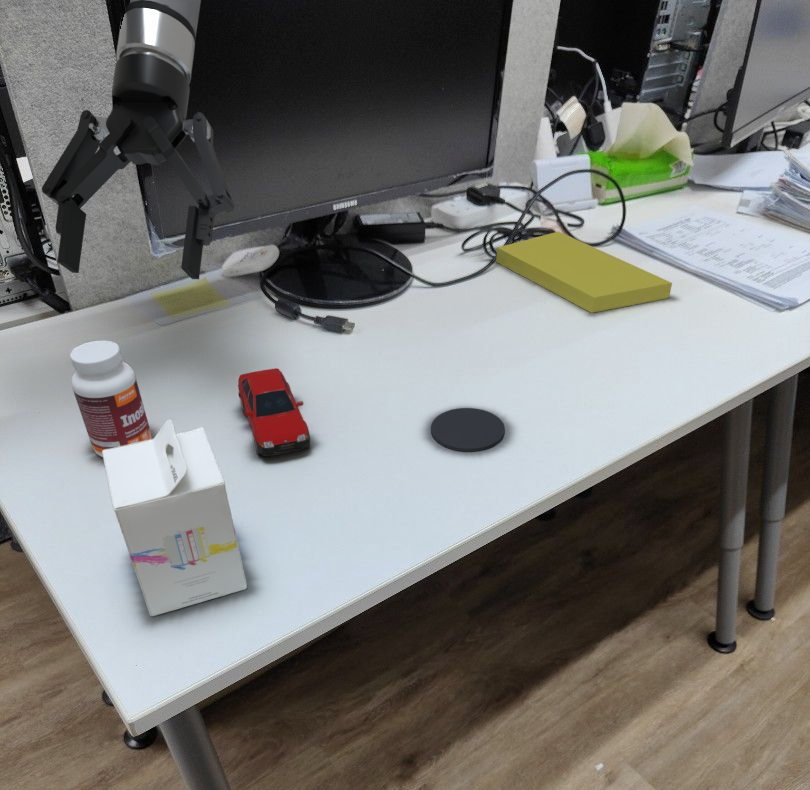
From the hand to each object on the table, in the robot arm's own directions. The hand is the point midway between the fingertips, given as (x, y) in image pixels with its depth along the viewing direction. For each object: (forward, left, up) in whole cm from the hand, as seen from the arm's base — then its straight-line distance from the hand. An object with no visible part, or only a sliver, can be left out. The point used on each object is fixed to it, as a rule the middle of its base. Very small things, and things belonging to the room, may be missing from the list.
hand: (128, 271), depth 79 cm
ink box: (+30, -6, -15) cm, 35 cm away
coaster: (+24, +27, -15) cm, 39 cm away
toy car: (+13, +9, -15) cm, 22 cm away
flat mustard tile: (-1, +63, -15) cm, 65 cm away
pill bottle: (+8, -6, -15) cm, 18 cm away
